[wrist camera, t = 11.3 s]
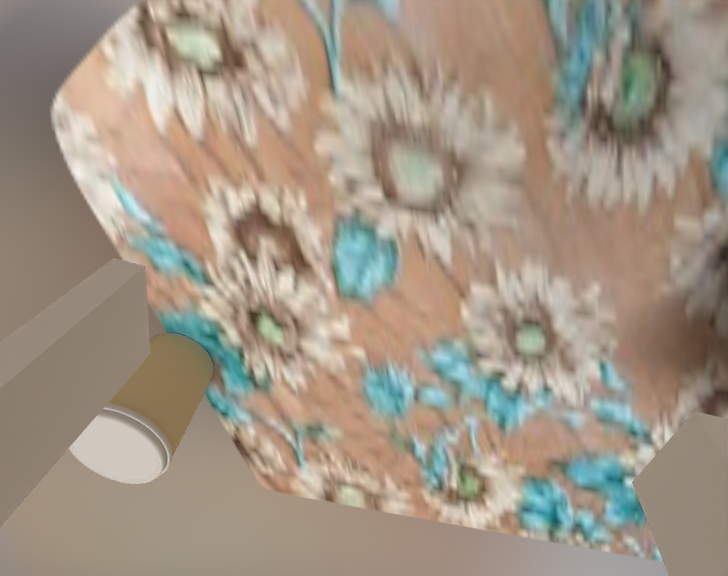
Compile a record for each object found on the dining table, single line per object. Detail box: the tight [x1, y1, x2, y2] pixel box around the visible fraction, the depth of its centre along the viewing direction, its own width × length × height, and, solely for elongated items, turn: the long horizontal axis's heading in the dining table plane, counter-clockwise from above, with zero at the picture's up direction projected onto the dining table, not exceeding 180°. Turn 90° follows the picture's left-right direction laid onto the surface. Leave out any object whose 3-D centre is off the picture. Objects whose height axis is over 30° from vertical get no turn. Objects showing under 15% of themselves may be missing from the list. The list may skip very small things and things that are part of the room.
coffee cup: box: [69, 333, 214, 484], centre depth 44 cm, size 9×9×12 cm
